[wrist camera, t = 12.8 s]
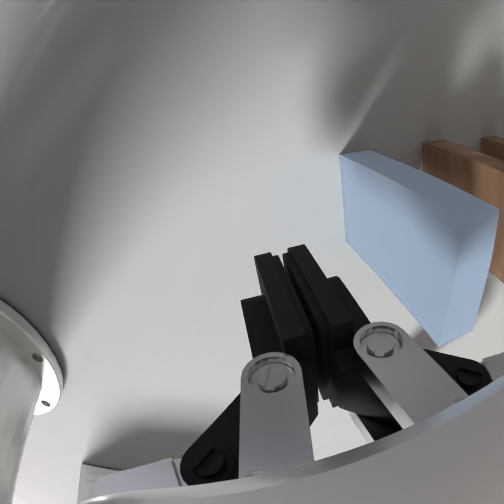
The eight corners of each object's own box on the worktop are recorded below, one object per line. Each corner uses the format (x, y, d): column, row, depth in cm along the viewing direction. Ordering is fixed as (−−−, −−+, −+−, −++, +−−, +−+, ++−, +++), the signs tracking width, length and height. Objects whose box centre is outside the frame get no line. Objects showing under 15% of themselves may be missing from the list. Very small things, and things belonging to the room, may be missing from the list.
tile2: (422, 221, 18) (524, 300, 10) (422, 142, 16) (549, 194, 8) (442, 216, 18) (542, 288, 10) (444, 140, 16) (566, 189, 8)
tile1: (345, 241, 18) (438, 346, 10) (339, 154, 15) (462, 220, 8) (373, 234, 18) (472, 330, 10) (369, 149, 16) (499, 209, 8)
